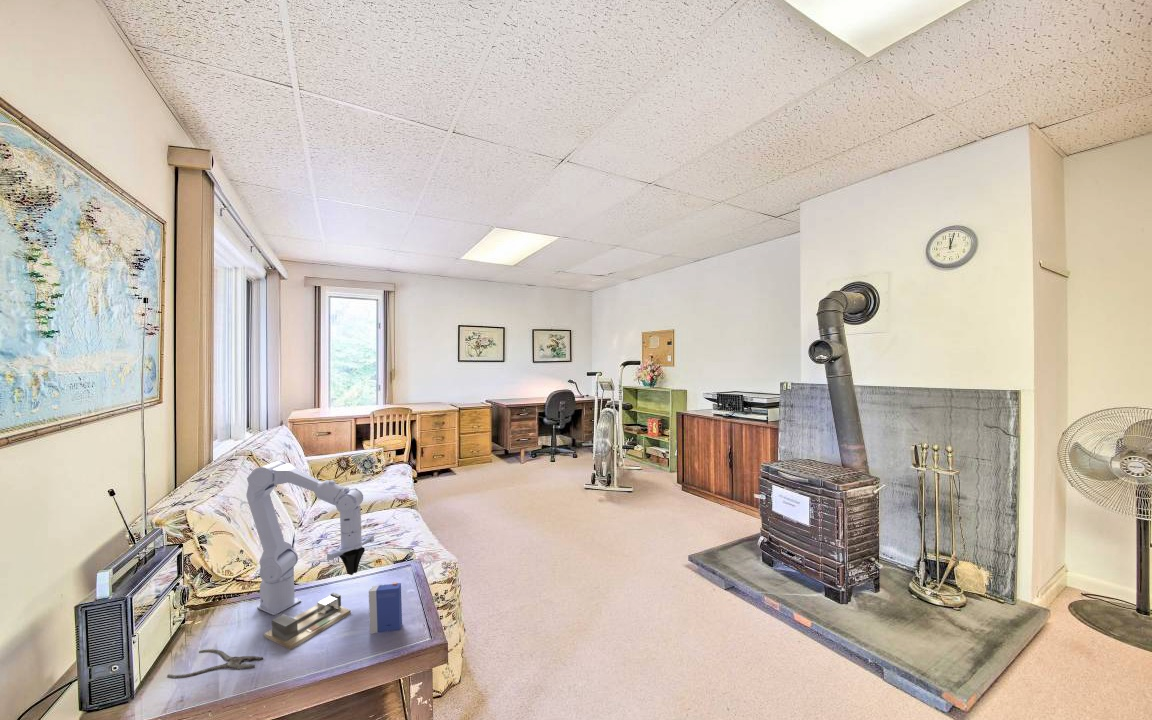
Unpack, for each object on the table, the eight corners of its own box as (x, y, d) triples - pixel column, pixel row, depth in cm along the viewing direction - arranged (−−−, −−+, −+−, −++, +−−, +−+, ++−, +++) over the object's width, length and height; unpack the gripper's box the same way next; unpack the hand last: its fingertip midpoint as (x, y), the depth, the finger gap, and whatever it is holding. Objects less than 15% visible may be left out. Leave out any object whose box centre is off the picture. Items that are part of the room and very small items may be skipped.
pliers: (192, 650, 110) (277, 639, 113) (192, 653, 110) (277, 643, 113) (162, 678, 100) (256, 665, 103) (163, 681, 100) (256, 669, 103)
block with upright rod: (333, 603, 128) (333, 592, 128) (347, 608, 125) (347, 597, 125) (317, 611, 124) (317, 600, 124) (331, 617, 121) (331, 606, 121)
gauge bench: (325, 603, 130) (325, 587, 130) (350, 613, 125) (350, 596, 125) (264, 636, 115) (264, 618, 115) (290, 649, 110) (289, 630, 110)
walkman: (402, 623, 119) (400, 581, 119) (399, 630, 116) (398, 586, 116) (372, 627, 118) (371, 584, 118) (369, 633, 115) (368, 590, 115)
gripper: (336, 541, 124) (338, 587, 124) (379, 523, 136) (381, 565, 137) (322, 537, 127) (323, 582, 127) (365, 520, 140) (366, 560, 140)
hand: (352, 573), depth 132 cm, fingers closed
